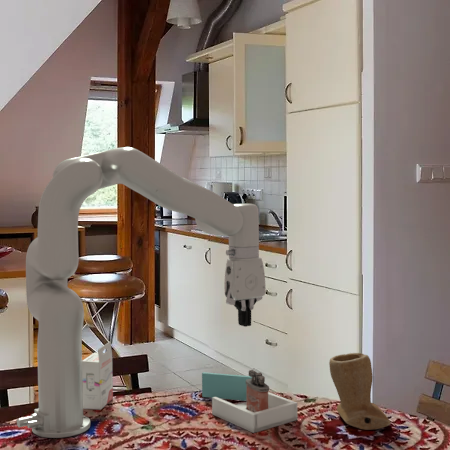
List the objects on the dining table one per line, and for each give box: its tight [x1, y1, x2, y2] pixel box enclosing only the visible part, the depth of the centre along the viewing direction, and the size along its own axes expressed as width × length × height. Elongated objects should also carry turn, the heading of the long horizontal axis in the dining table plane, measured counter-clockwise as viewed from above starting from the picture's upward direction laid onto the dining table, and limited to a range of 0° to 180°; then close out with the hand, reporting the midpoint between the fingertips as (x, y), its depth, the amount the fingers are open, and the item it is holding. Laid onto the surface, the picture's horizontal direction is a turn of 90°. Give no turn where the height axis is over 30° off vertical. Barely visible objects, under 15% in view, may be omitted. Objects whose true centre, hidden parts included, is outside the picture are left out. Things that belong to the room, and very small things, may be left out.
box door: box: [201, 371, 252, 402], centre depth 172 cm, size 13×1×6 cm, turn 73°
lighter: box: [246, 369, 270, 413], centre depth 158 cm, size 8×3×10 cm, turn 26°
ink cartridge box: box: [82, 341, 114, 410], centre depth 169 cm, size 9×5×15 cm, turn 168°
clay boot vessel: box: [328, 352, 391, 431], centre depth 157 cm, size 15×12×15 cm
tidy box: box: [211, 391, 298, 434], centre depth 159 cm, size 13×15×4 cm
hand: (244, 325), depth 174 cm, fingers closed
